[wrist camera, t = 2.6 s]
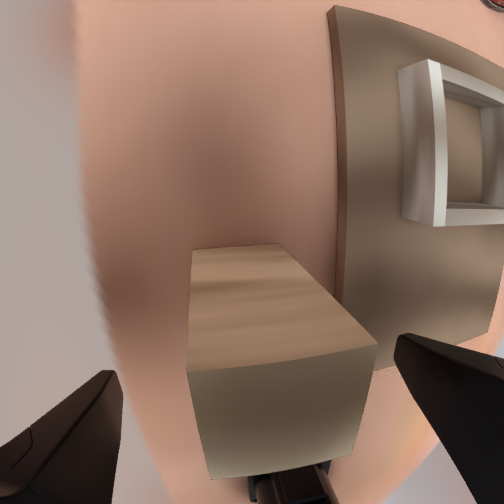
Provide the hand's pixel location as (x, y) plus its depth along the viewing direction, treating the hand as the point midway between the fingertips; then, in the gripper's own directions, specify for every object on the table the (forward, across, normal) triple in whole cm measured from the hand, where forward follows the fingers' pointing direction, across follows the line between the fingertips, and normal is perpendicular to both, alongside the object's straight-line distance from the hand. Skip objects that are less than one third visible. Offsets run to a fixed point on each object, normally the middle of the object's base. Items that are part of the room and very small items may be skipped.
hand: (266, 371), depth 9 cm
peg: (+7, 0, 0) cm, 7 cm away
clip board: (+6, -12, -4) cm, 14 cm away
